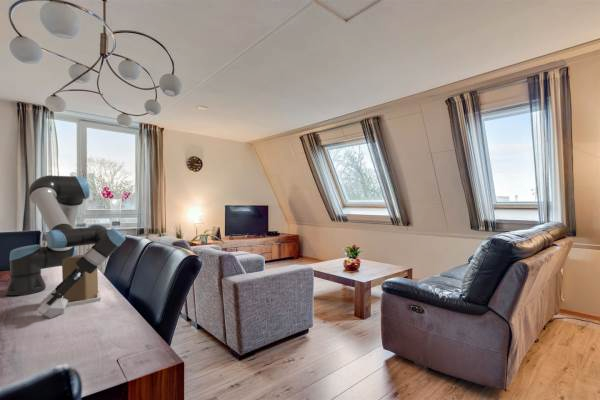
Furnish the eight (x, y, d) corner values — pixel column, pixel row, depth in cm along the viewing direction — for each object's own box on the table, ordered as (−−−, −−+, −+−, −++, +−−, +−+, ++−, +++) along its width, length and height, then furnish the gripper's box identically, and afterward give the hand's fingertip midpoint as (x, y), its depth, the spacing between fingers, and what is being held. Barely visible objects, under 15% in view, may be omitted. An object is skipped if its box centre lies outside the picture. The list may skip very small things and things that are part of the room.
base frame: (62, 300, 140) (62, 296, 140) (99, 293, 148) (99, 290, 148) (60, 308, 128) (60, 304, 128) (100, 300, 136) (100, 297, 136)
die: (70, 316, 119) (74, 293, 125) (47, 313, 112) (53, 288, 118) (53, 323, 121) (58, 299, 126) (31, 320, 114) (37, 295, 119)
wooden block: (76, 297, 142) (75, 254, 143) (99, 295, 143) (97, 253, 143) (62, 304, 133) (60, 258, 133) (86, 302, 133) (84, 257, 133)
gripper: (82, 252, 133) (35, 296, 124) (82, 258, 116) (28, 310, 107) (97, 262, 136) (52, 306, 127) (99, 270, 119) (48, 321, 110)
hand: (41, 308), depth 117 cm, fingers closed on die, 8 cm apart
